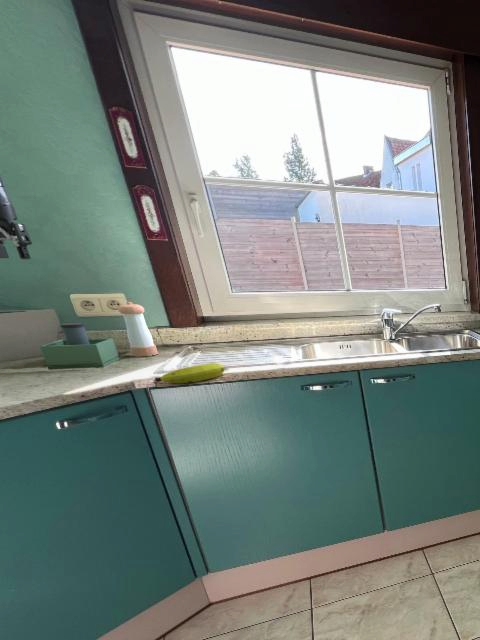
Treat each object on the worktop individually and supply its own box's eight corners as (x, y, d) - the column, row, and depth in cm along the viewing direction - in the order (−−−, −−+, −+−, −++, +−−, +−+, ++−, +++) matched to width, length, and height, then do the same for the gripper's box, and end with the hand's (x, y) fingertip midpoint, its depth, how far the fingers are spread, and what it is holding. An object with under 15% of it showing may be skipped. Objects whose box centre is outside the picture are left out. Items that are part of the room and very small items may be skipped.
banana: (230, 359, 162) (183, 365, 161) (196, 366, 145) (143, 374, 144) (236, 372, 163) (189, 379, 162) (202, 381, 147) (149, 389, 146)
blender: (69, 365, 162) (55, 325, 158) (78, 361, 167) (64, 322, 163) (93, 364, 165) (79, 324, 160) (100, 360, 170) (87, 322, 165)
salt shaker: (139, 353, 185) (123, 300, 178) (162, 353, 187) (147, 301, 180) (127, 357, 179) (110, 302, 172) (151, 356, 180) (135, 303, 173)
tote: (48, 369, 158) (39, 346, 155) (68, 361, 169) (60, 339, 166) (103, 367, 163) (96, 344, 161) (119, 359, 175) (112, 338, 172)
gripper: (-42, 200, 148) (-19, 258, 154) (-4, 201, 146) (18, 259, 152) (-9, 203, 155) (12, 258, 161) (27, 204, 153) (47, 259, 159)
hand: (15, 258), depth 156 cm, fingers open, 8 cm apart
